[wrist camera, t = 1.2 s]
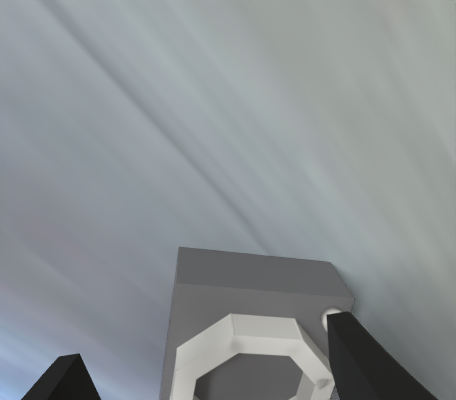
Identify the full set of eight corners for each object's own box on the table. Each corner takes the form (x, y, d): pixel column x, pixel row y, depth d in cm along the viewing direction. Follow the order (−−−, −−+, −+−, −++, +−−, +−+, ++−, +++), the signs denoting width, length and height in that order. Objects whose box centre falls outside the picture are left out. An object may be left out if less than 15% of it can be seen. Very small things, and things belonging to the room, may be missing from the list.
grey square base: (289, 397, 25) (310, 474, 20) (159, 392, 24) (151, 472, 19) (329, 262, 21) (368, 318, 16) (178, 247, 20) (174, 303, 15)
